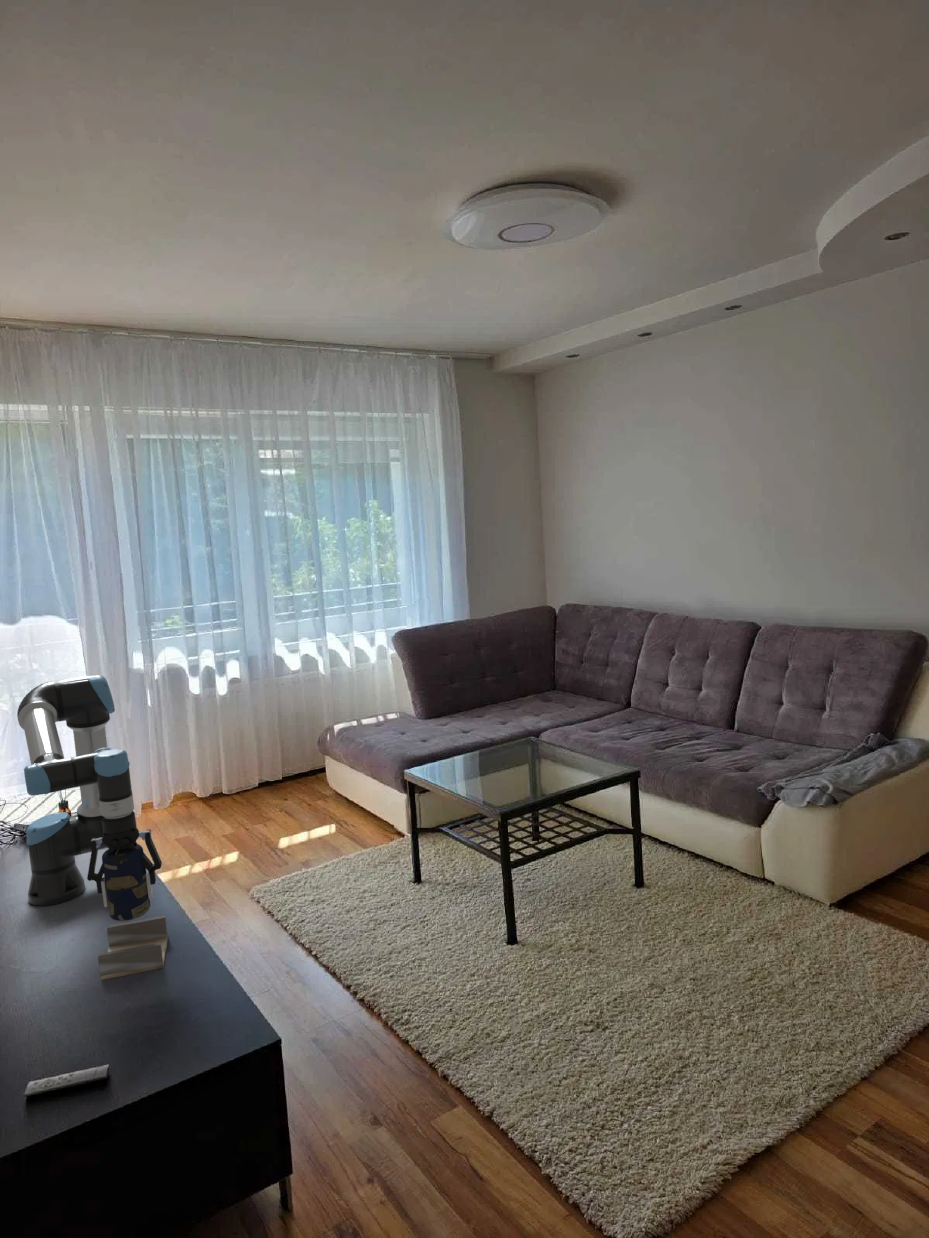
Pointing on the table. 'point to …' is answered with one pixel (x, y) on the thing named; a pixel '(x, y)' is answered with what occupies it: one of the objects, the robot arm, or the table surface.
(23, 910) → the table surface
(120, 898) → the canister
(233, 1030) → the table surface
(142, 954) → the keeper cradle
